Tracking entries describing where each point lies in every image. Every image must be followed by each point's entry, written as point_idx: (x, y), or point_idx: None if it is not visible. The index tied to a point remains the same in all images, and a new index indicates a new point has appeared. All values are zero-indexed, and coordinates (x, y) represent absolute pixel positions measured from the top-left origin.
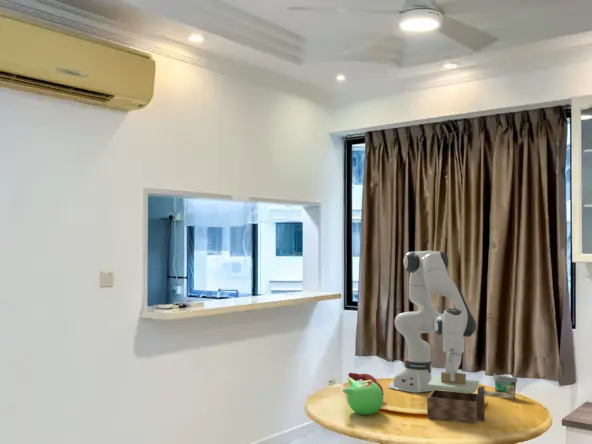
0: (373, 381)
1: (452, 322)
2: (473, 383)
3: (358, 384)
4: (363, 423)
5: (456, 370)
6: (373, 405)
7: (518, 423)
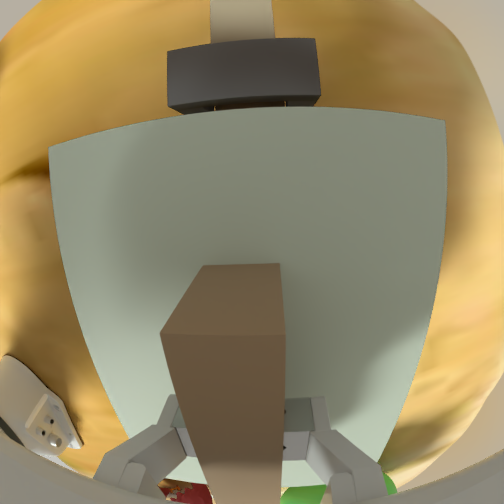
0: None
1: None
2: (168, 168)
3: None
4: (417, 449)
5: (133, 459)
6: (389, 480)
7: None
